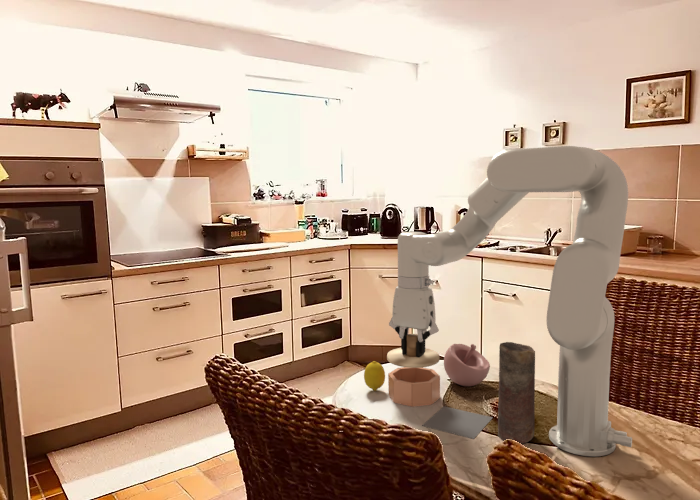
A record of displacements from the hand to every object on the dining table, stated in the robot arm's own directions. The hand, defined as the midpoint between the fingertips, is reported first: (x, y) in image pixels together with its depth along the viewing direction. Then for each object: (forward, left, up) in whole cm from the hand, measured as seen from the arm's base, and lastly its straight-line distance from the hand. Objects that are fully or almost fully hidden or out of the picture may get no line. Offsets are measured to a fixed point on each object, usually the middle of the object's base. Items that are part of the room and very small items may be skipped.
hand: (413, 353), depth 133 cm
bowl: (0, 0, -11) cm, 11 cm away
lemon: (+11, +1, -12) cm, 16 cm away
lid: (0, 0, -1) cm, 1 cm away
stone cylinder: (-28, +8, -12) cm, 32 cm away
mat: (-15, +8, -11) cm, 21 cm away
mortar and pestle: (-8, -15, -12) cm, 21 cm away
